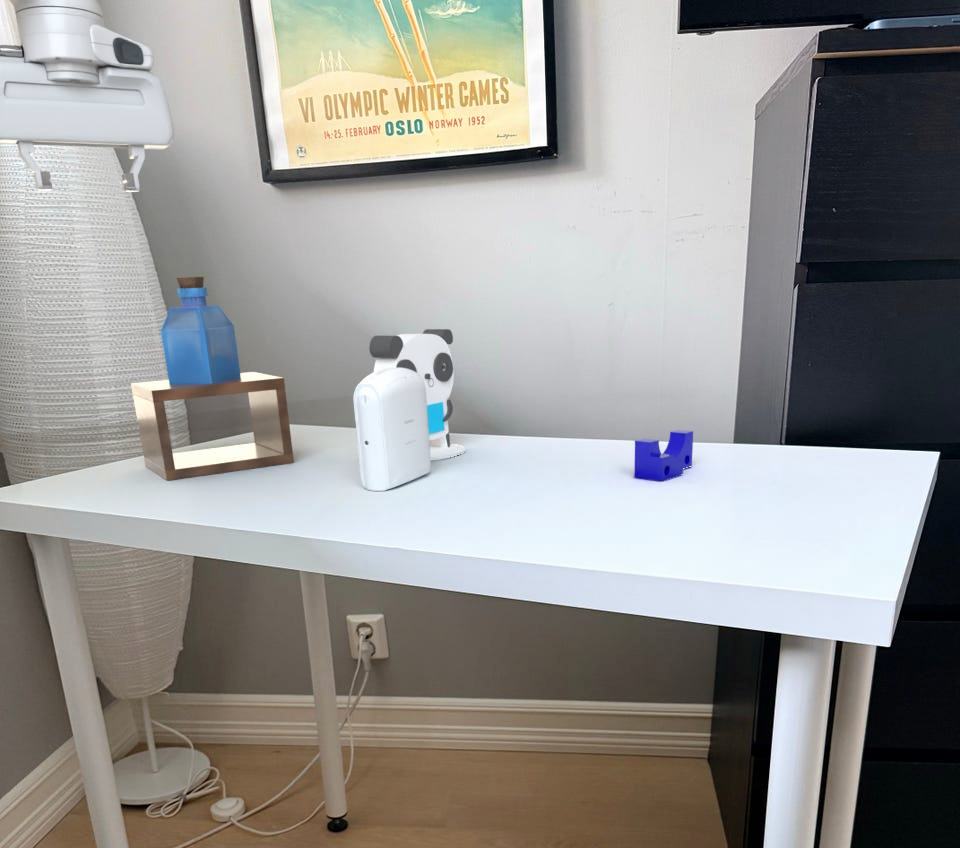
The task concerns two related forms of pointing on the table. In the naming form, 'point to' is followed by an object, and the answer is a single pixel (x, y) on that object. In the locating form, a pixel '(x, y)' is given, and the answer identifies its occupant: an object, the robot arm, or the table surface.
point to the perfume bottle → (198, 339)
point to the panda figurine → (425, 378)
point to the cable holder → (663, 457)
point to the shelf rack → (266, 450)
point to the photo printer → (392, 428)
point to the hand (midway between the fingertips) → (89, 190)
